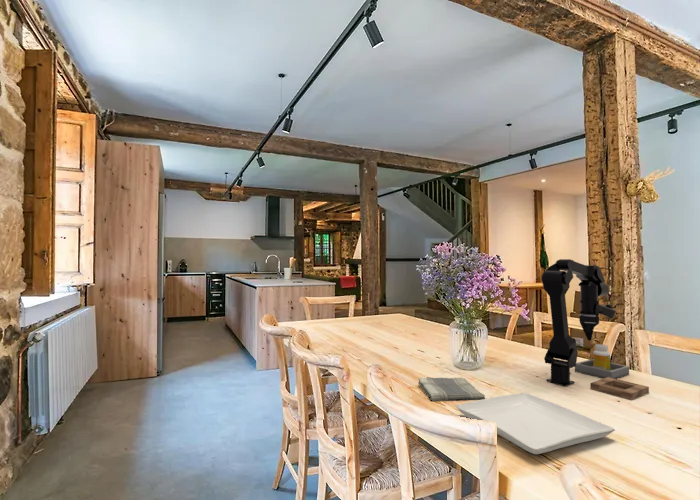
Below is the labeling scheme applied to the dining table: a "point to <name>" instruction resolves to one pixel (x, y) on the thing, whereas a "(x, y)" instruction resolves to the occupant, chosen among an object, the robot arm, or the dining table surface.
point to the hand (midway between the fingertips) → (589, 338)
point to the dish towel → (449, 389)
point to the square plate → (535, 422)
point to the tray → (614, 372)
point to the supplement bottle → (601, 357)
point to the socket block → (619, 388)
